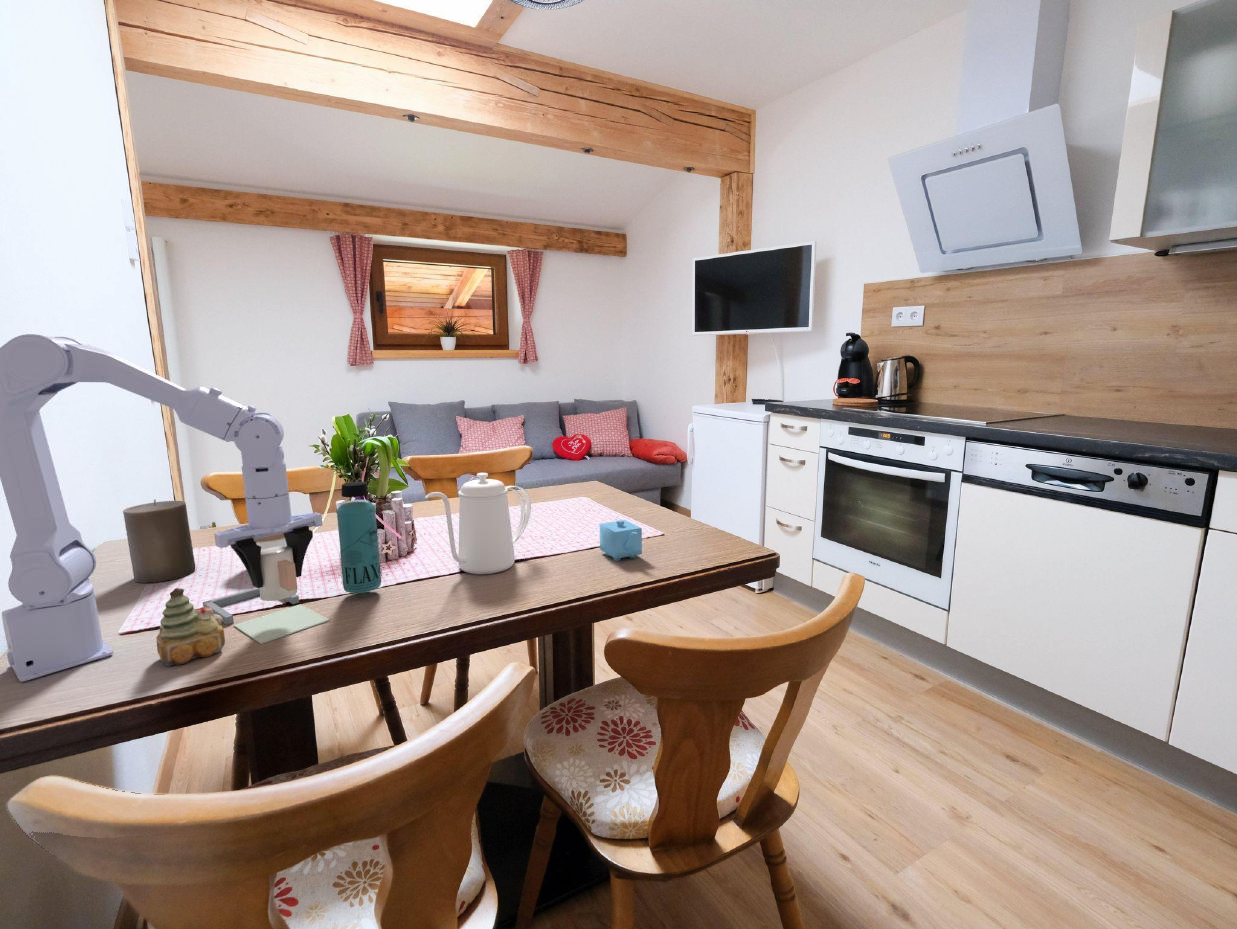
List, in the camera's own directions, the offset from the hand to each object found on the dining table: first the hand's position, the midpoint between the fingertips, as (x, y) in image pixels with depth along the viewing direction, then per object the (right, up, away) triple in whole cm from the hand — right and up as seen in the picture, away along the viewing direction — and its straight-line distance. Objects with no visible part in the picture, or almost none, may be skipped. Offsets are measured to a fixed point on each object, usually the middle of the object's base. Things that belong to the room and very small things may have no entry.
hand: (277, 580), depth 93 cm
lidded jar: (-17, -3, +28) cm, 33 cm away
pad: (0, -7, +1) cm, 7 cm away
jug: (+1, -2, -1) cm, 3 cm away
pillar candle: (-35, -4, +24) cm, 43 cm away
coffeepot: (+26, -3, +26) cm, 37 cm away
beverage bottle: (+8, -5, +13) cm, 16 cm away
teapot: (+53, -1, +31) cm, 62 cm away
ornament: (-7, -9, -8) cm, 14 cm away
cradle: (-9, -6, +8) cm, 13 cm away
